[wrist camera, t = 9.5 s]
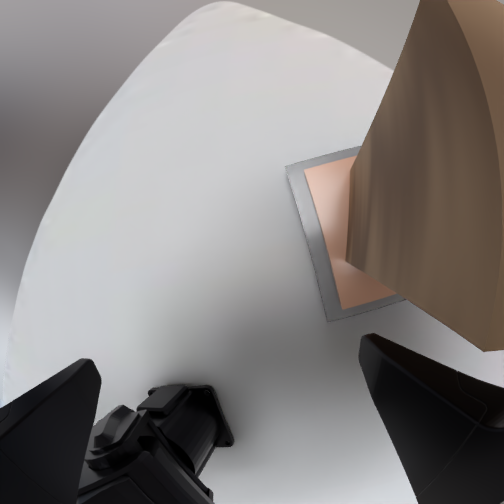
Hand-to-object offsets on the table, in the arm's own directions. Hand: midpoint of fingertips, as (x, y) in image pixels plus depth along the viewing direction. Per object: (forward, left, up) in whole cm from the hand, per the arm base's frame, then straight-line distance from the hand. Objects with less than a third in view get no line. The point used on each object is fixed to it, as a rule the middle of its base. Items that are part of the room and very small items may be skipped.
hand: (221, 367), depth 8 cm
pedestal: (+3, -8, -11) cm, 14 cm away
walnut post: (+3, -8, -8) cm, 12 cm away
